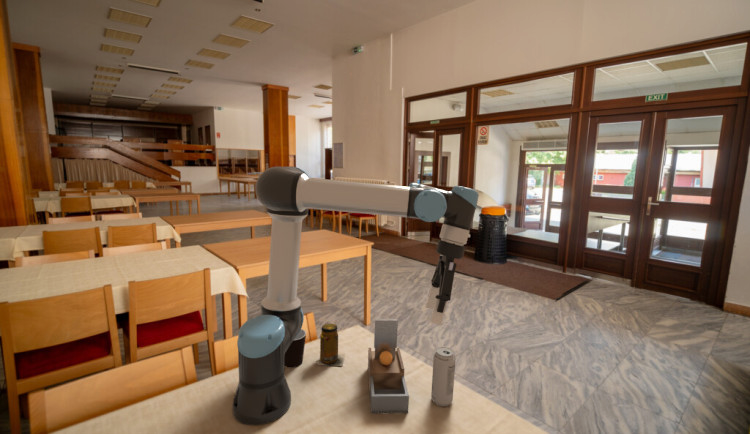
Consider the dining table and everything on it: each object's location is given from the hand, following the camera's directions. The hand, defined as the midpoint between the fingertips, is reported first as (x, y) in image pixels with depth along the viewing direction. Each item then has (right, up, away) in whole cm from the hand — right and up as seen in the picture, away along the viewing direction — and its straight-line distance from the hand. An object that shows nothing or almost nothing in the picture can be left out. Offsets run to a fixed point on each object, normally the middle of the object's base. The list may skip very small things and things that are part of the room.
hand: (432, 315), depth 97 cm
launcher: (-13, -23, +11) cm, 29 cm away
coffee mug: (-43, -21, +20) cm, 52 cm away
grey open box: (-12, -25, +1) cm, 28 cm away
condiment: (-31, -21, +21) cm, 43 cm away
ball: (-13, -15, +8) cm, 22 cm away
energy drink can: (+3, -25, +2) cm, 25 cm away
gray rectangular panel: (-13, -17, +12) cm, 24 cm away
